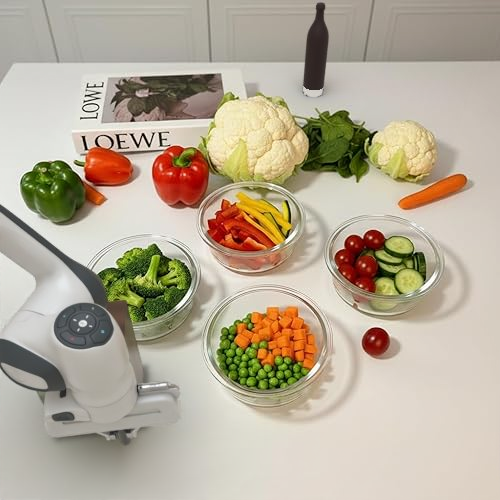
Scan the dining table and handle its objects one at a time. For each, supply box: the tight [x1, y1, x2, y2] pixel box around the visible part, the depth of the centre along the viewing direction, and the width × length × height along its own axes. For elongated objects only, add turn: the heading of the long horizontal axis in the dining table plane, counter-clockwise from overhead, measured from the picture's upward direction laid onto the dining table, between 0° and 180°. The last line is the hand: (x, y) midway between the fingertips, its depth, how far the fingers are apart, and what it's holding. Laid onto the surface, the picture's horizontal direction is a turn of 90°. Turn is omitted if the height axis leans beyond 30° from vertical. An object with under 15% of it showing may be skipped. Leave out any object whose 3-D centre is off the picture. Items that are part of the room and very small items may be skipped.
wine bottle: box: [302, 2, 330, 90], centre depth 176 cm, size 7×7×30 cm
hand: (122, 434), depth 88 cm, fingers closed
